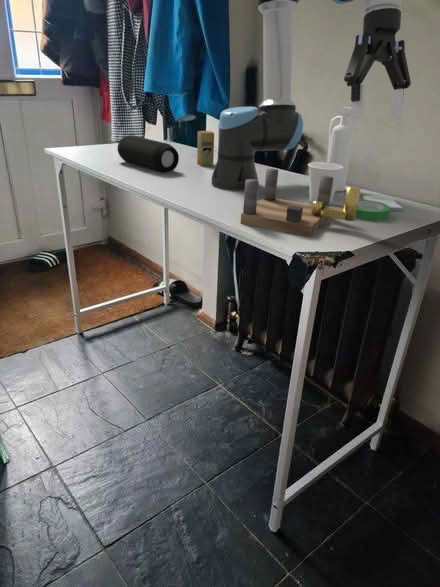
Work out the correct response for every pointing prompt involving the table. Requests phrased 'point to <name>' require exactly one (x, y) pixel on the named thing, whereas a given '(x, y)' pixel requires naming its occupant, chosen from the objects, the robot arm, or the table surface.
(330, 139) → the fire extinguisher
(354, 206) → the leg
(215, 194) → the table surface
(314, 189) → the cup
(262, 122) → the robot arm
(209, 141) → the shoe polish box
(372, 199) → the external hard drive
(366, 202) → the tape roll
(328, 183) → the wooden peg board
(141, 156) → the portable speaker
